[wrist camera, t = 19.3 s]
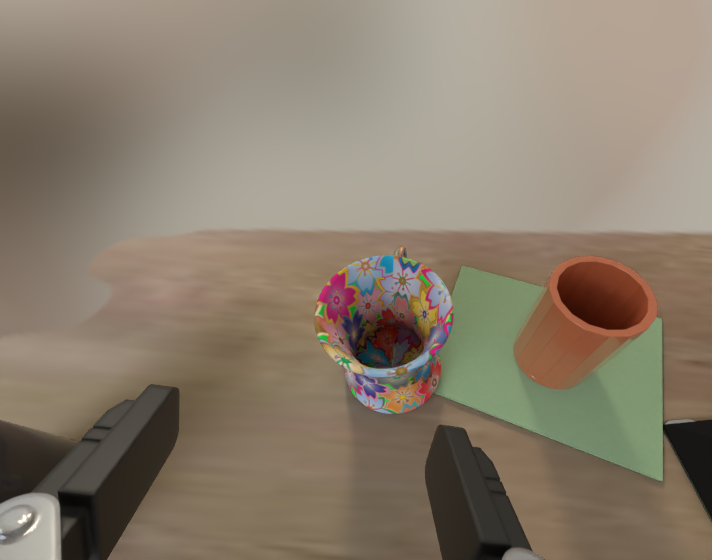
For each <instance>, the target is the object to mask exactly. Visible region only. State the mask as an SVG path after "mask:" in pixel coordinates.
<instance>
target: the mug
mask: <svg viewBox="0 0 712 560" xmlns="http://www.w3.org/2000/svg"><path fill="white" fill-rule="evenodd" d="M453 315H454V312H453V303H452V299H451V296H450V293H449V291H448V289H447V287H446V286H445V284H444V283H443V281H442V280H441V279H440V278H439V276H438V275H437V274H436V273H434V272H433V271H432V270H431V269H429V268H428V267H426V266H425V265H423V264H421V263H419V262H417V261H415V260H412V259H409V258H406V249H405V248H404V247H397V248H396V249H395V252H394V256H391V255H382V256H374V257H369V258H365V259H362V260H359V261H356V262H354V263H352V264H350V265H348V266H346V267H345V268H343V269H342V270H340V271H339V272H338V273H337V274H335V275H334V276H333V277H332V278H331V279H330V280H329V282H328V283H327V284H326V286H325V287H324V289H323V290H322V292H321V294H320V296H319V299H318V301H317V305H316V309H315V328H316V333H317V336H318V338H319V341H320V343H321V345H322V347H323V348H324V350H325V351H326V352H327V354H328V355H329V356H330V357H331V358H332V359H333V360H334V361H335V362H337V363H338V364H339V365H341V366H343V367H344V368H345V377H346V381H347V384H348V386H349V388H350V390H351V392H352V393H353V395H354V396H355V397H356V398H357V399H358V400H359V401H360V402H361V403H362V404H363V405H365V406H367V407H368V408H370V409H372V410H375V411H377V412H381V413H386V414H400V413H405V412H408V411H411V410H414V409H416V408H417V407H419V406H421V405H422V404H423V403H425V402H426V401H427V400H428V399H429V398H430V397H431V395H432V394H433V393H434V391H435V389H436V388H437V385H438V383H439V380H440V375H441V360H440V356H439V353H438V352H439V351H440V350H441V349H442V347H443V346H444V344H445V343H446V341H447V339H448V337H449V334H450V332H451V328H452V324H453Z"/></svg>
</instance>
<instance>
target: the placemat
mask: <svg viewBox="0 0 712 560" xmlns="http://www.w3.org/2000/svg"><path fill="white" fill-rule="evenodd" d="M543 288H544V287H541V286H538V285H534V284H530V283H526V282H523V281H519V280H515V279H511V278H508V277H504V276H500V275H496V274H493V273H489V272H485V271H481V270H478V269H474V268H470V267H466V266H463V265H462V267H461V270H460V273H459V276H458V279H457V281H456V284H455V287H454V290H453V293H452V296H451V299H452V303H453V312H454V315H453V324H452V328H451V332H450V334H449V337H448V339H447V341H446V343H445V344H444V346H443V347H442V349H441V350H440V351H439V352H438V353H439V356H440V360H441V375H440V380H439V383H438V385H437V388H436V389H435V391H434V393H435V394H437V395H440V396H443V397H445V398H448V399H450V400H453V401H455V402H458V403H460V404H463V405H466V406H468V407H471V408H473V409H476V410H478V411H481V412H484V413H486V414H489V415H491V416H494V417H496V418H499V419H502V420H504V421H507V422H509V423H512V424H514V425H517V426H520V427H522V428H525V429H527V430H530V431H532V432H535V433H537V434H540V435H543V436H545V437H548V438H550V439H553V440H555V441H558V442H561V443H563V444H566V445H568V446H571V447H573V448H576V449H579V450H581V451H584V452H586V453H589V454H591V455H594V456H597V457H599V458H602V459H604V460H607V461H609V462H612V463H614V464H617V465H620V466H622V467H625V468H627V469H630V470H632V471H635V472H638V473H640V474H643V475H645V476H648V477H650V478H653V479H656V480H658V481H663V389H662V319H661V318H657V317H656V319H655V320H654V321H653V323H652V324H651V326H650V327H649V328H648V329H647V330H646V331H645V332H644V333H643V334H641V335H640V336H639V337H638V338H637V339H635V340H634V341H633V342H632V343H630V344H629V345H628V346H627V347H626V348H624V349H623V350H622V351H621V352H620V353H618V354H617V355H616V356H615V357H614V358H612V359H611V360H610V361H609V362H607V363H606V364H605V365H604V366H603V367H601V368H600V369H599V370H598V371H597V372H595V373H594V374H593V375H592V376H591V377H589V378H588V379H587V380H586V381H584V382H582V383H581V384H579V385H578V386H576V387H573V388H570V389H562V390H561V389H552V388H548V387H545V386H542V385H540V384H538V383H536V382H534V381H533V380H532V379H530V378H529V377H528V376H527V375H526V374H525V373H524V372H523V371H522V370H521V369H520V367H519V365H518V364H517V362H516V359H515V356H514V351H513V345H514V341H515V338H516V335H517V333H518V331H519V329H520V328H521V326H522V324H523V322H524V321H525V319H526V317H527V316H528V314H529V312H530V310H531V309H532V307H533V305H534V303H535V302H536V300H537V298H538V296H539V295H540V293H541V291H542V289H543Z"/></svg>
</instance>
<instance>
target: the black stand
mask: <svg viewBox="0 0 712 560" xmlns="http://www.w3.org/2000/svg"><path fill="white" fill-rule="evenodd" d="M663 431H664V433H665V435H666V436H667V438H668V440H669V442H670V444H671V446H672V448H673V450H674V451H675V453H676V455H677V457H678V459H679V461H680V463H681V465H682V467H683V468H684V470H685V472H686V474H687V476H688V478H689V480H690V482H691V483H692V485H693V487H694V489H695V491H696V493H697V495H698V497H699V498H700V500H701V502H702V504H703V506H704V508H705V510H706V512H707V513H708V515H709V517H710V519H711V521H712V420H705V421H694V420H691V419H682V420H671V421H668V422H667V423H666V424H665V425H663Z"/></svg>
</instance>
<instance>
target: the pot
mask: <svg viewBox="0 0 712 560" xmlns="http://www.w3.org/2000/svg"><path fill="white" fill-rule="evenodd" d="M656 317H657V299H656V297H655V295H654V293H653V292H652V290H651V288H650V286H649V285H648V283H647V282H646V281H645V280H644V279H643V278H641V277H640V276H639V275H638V274H637V273H636V272H635V271H634V270H632V269H630V268H628V267H626V266H624V265H622V264H621V263H619V262H617V261H614V260H610V259H606V258H601V257H597V256H585V257H575V258H572V259H570V260H567V261H565V262H562V263H561V264H560V265H559V266H558V267H557V268H556V269H555V270H554V271H553V272H552V274H551V275H550V277H549V279H548V281H547V282H546V284H545V286H544V288H543V289H542V291H541V293H540V295H539V296H538V298H537V300H536V302H535V303H534V305H533V307H532V309H531V310H530V312H529V314H528V316H527V317H526V319H525V321H524V322H523V324H522V326H521V328H520V329H519V331H518V333H517V335H516V338H515V341H514V345H513V351H514V356H515V359H516V362H517V364H518V365H519V367H520V369H521V370H522V371H523V372H524V373H525V374H526V375H527V376H528V377H529V378H530V379H532V380H533V381H534V382H536V383H538V384H540V385H542V386H545V387H548V388H552V389H561V390H562V389H570V388H573V387H576V386H578V385H579V384H581V383H582V382H584V381H586V380H587V379H588V378H589V377H591V376H592V375H593V374H594V373H595V372H597V371H598V370H599V369H600V368H601V367H603V366H604V365H605V364H606V363H607V362H609V361H610V360H611V359H612V358H614V357H615V356H616V355H617V354H618V353H620V352H621V351H622V350H623V349H624V348H626V347H627V346H628V345H629V344H630V343H632V342H633V341H634V340H635V339H637V338H638V337H639V336H640V335H641V334H643V333H644V332H645V331H646V330H647V329H648V328H649V327H650V326H651V324H652V323H653V321H654V320H655V319H656Z"/></svg>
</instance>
